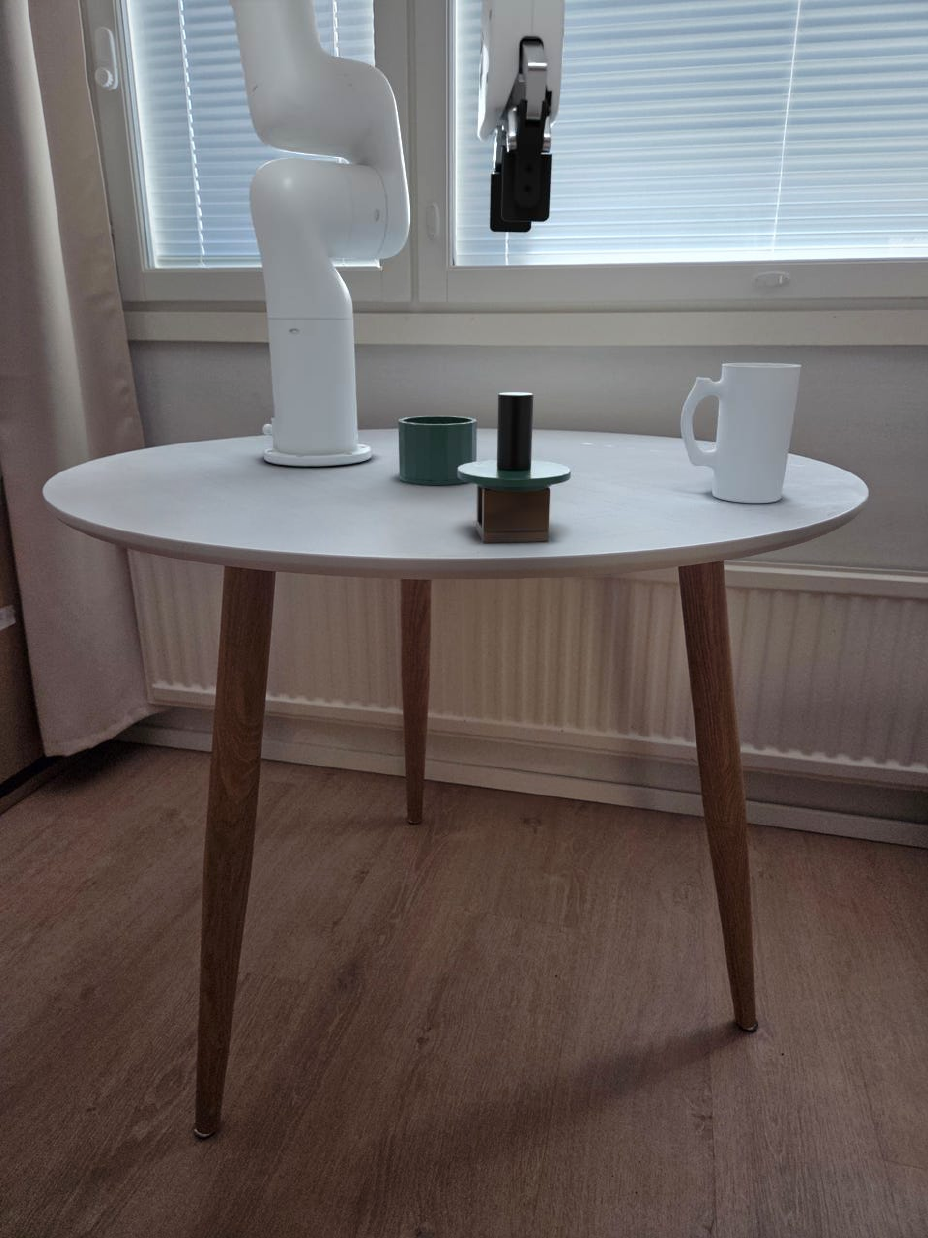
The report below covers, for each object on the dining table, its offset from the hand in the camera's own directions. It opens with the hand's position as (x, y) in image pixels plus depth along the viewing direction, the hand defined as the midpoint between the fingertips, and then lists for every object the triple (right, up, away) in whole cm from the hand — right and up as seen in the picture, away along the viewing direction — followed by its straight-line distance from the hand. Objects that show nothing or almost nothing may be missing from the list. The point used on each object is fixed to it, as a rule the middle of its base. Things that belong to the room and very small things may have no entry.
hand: (517, 226), depth 61 cm
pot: (-7, -14, +27) cm, 31 cm away
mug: (+21, -17, +19) cm, 33 cm away
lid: (0, -18, +3) cm, 18 cm away
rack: (0, -22, +4) cm, 22 cm away
